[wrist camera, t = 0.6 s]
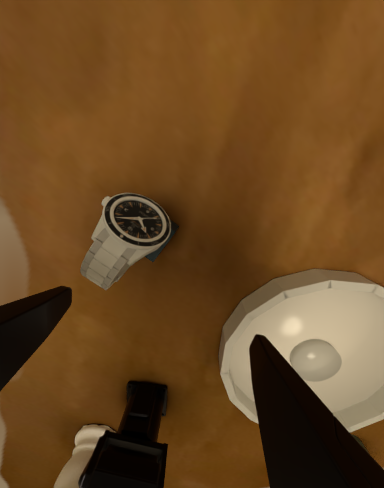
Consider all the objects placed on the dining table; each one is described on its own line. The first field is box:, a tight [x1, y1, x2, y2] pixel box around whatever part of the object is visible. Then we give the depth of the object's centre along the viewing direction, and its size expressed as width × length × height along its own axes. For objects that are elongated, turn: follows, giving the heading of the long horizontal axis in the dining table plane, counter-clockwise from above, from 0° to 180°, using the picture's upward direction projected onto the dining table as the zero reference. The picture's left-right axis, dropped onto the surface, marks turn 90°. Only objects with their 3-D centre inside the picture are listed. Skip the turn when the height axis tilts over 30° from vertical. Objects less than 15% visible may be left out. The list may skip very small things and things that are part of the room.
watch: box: [80, 193, 179, 290], centre depth 17 cm, size 6×8×11 cm
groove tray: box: [218, 269, 384, 432], centre depth 25 cm, size 25×25×3 cm
